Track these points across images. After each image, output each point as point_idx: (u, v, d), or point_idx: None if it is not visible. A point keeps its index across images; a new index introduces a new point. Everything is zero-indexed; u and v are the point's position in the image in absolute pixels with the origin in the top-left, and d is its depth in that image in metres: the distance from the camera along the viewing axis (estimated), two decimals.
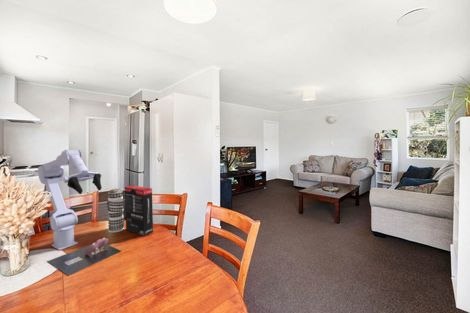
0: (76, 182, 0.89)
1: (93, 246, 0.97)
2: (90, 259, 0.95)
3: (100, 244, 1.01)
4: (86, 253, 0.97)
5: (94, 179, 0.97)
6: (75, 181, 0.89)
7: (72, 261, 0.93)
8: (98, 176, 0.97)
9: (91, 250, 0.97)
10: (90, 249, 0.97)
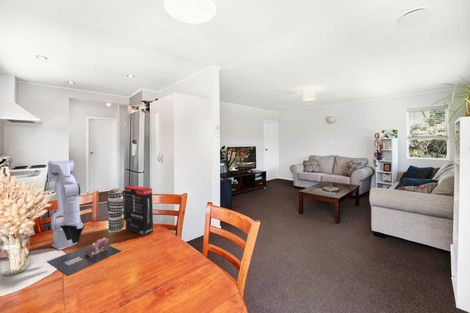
0: (63, 231, 0.92)
1: (93, 246, 0.97)
2: (90, 259, 0.95)
3: (100, 244, 1.01)
4: (86, 253, 0.97)
5: None
6: (63, 230, 0.92)
7: (72, 261, 0.93)
8: (70, 232, 0.89)
9: (91, 250, 0.97)
10: (90, 249, 0.97)
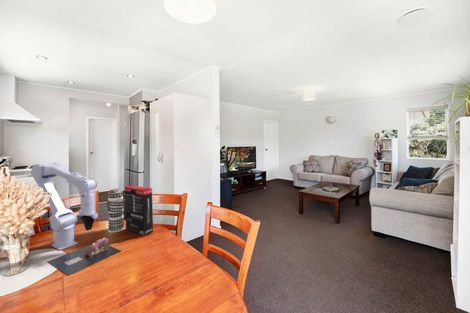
0: (83, 221, 1.04)
1: (93, 246, 0.97)
2: (90, 259, 0.95)
3: (100, 244, 1.01)
4: (86, 253, 0.97)
5: None
6: (82, 220, 1.04)
7: (72, 261, 0.93)
8: (84, 220, 1.02)
9: (91, 250, 0.97)
10: (90, 249, 0.97)
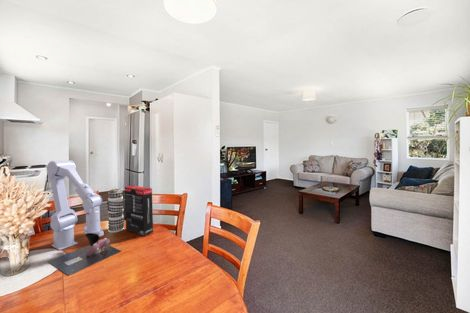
0: (88, 239, 1.02)
1: (94, 246, 0.97)
2: (90, 259, 0.95)
3: (101, 244, 1.01)
4: (87, 253, 0.97)
5: None
6: (88, 238, 1.02)
7: (72, 261, 0.93)
8: (89, 238, 1.01)
9: (92, 250, 0.96)
10: (91, 249, 0.97)
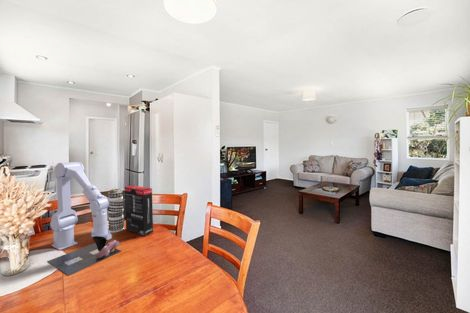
0: (95, 242, 0.99)
1: (105, 249, 0.95)
2: (90, 259, 0.95)
3: (111, 247, 0.99)
4: (98, 256, 0.95)
5: None
6: (95, 241, 0.99)
7: (72, 261, 0.93)
8: (97, 241, 0.97)
9: (103, 253, 0.94)
10: (102, 252, 0.94)
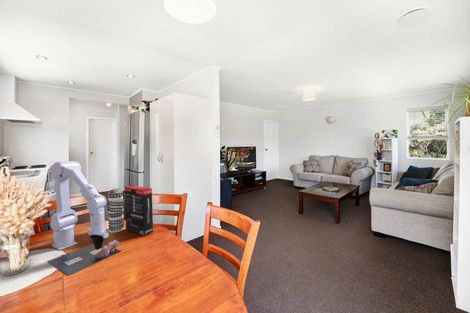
0: (93, 241, 1.00)
1: (105, 249, 0.95)
2: (90, 259, 0.95)
3: (111, 247, 0.99)
4: (97, 256, 0.95)
5: None
6: (92, 240, 1.00)
7: (72, 261, 0.93)
8: (94, 239, 0.98)
9: (103, 253, 0.94)
10: (102, 252, 0.94)
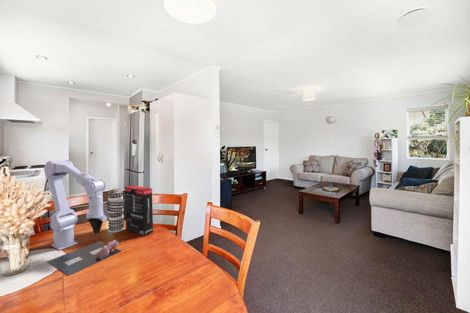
0: (91, 224, 1.00)
1: (105, 249, 0.95)
2: (90, 259, 0.95)
3: (111, 247, 0.99)
4: (97, 256, 0.95)
5: None
6: (90, 223, 1.00)
7: (72, 261, 0.93)
8: (92, 223, 0.98)
9: (103, 253, 0.94)
10: (102, 252, 0.94)
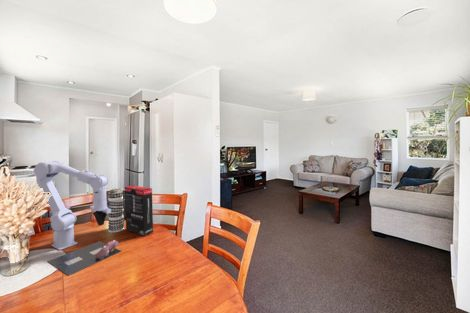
0: (95, 217, 1.07)
1: (104, 249, 0.95)
2: (90, 259, 0.95)
3: (111, 247, 0.99)
4: (97, 256, 0.95)
5: None
6: (95, 216, 1.07)
7: (72, 261, 0.93)
8: (97, 215, 1.06)
9: (102, 253, 0.94)
10: (101, 252, 0.94)
